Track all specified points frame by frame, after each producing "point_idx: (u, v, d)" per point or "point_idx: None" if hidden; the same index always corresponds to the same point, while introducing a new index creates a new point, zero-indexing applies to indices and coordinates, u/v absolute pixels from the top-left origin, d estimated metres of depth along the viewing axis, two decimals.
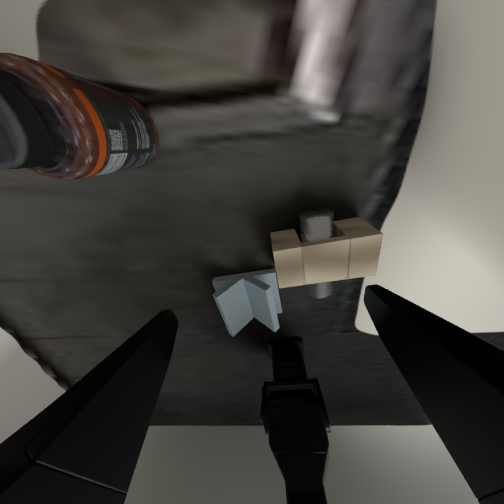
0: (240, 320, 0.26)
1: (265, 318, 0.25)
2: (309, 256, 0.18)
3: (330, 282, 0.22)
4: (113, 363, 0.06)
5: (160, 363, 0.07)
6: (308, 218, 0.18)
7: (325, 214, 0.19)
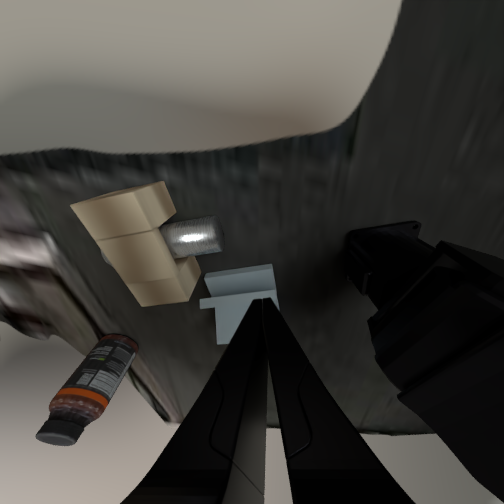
0: None
1: None
2: (134, 277, 0.16)
3: (190, 232, 0.16)
4: (242, 352, 0.05)
5: (265, 354, 0.07)
6: None
7: None
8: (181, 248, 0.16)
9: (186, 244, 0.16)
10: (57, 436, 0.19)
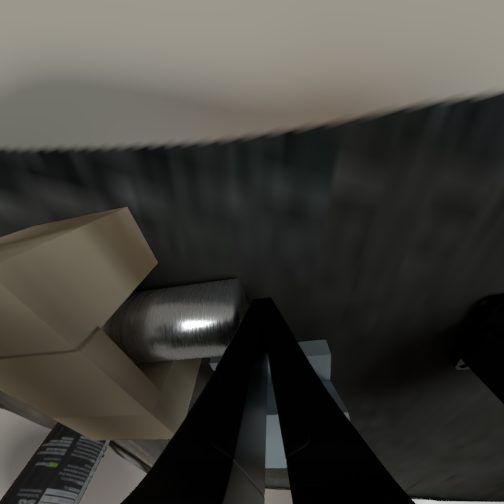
0: None
1: None
2: (65, 411, 0.08)
3: (186, 335, 0.07)
4: (242, 352, 0.05)
5: (265, 354, 0.07)
6: None
7: None
8: (171, 358, 0.08)
9: (180, 355, 0.08)
10: None
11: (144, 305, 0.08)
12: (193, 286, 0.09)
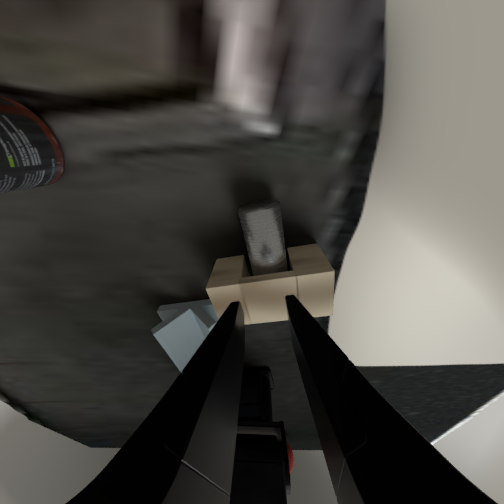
0: (191, 354, 0.23)
1: None
2: (250, 294, 0.15)
3: None
4: (210, 355, 0.06)
5: (240, 356, 0.07)
6: (247, 212, 0.14)
7: (269, 206, 0.14)
8: None
9: None
10: None
11: None
12: None
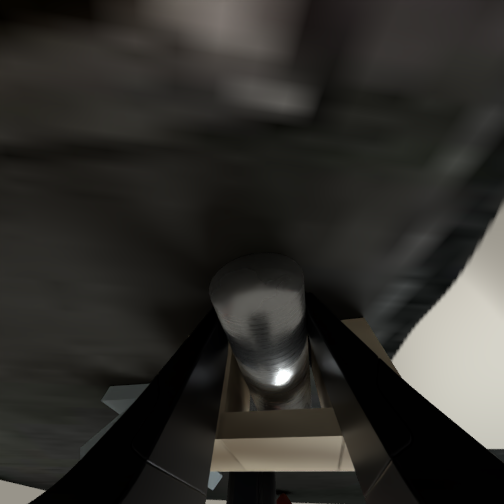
0: None
1: None
2: (243, 449, 0.07)
3: None
4: (188, 357, 0.06)
5: (222, 358, 0.07)
6: (221, 304, 0.06)
7: (276, 288, 0.06)
8: None
9: None
10: None
11: None
12: None
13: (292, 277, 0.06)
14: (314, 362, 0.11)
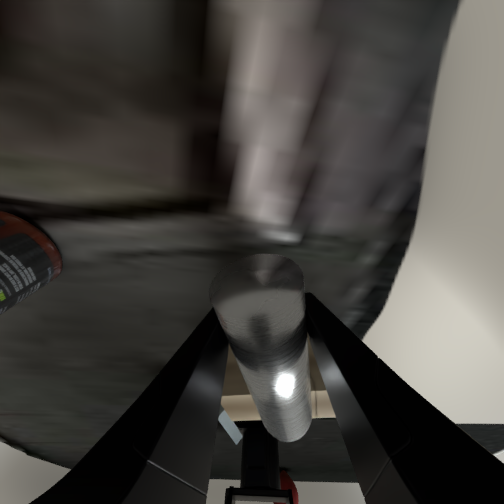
0: None
1: None
2: None
3: (305, 416, 0.10)
4: (188, 357, 0.06)
5: (222, 358, 0.07)
6: (222, 305, 0.06)
7: (277, 290, 0.06)
8: (283, 421, 0.09)
9: (290, 424, 0.09)
10: None
11: None
12: None
13: (292, 279, 0.06)
14: None
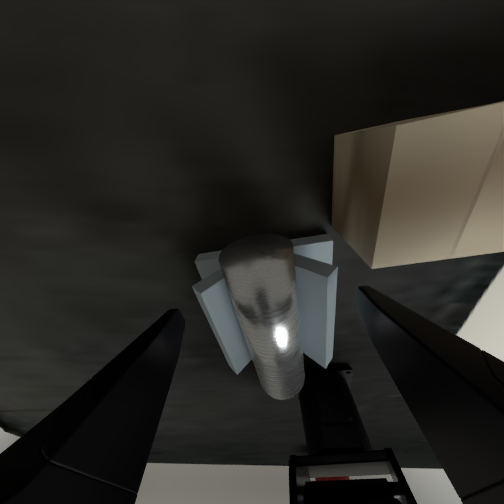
0: None
1: (305, 339, 0.12)
2: None
3: (297, 376, 0.11)
4: (123, 362, 0.06)
5: (168, 362, 0.07)
6: (228, 266, 0.08)
7: (271, 256, 0.08)
8: (277, 375, 0.11)
9: (283, 380, 0.11)
10: None
11: None
12: None
13: (284, 249, 0.08)
14: None
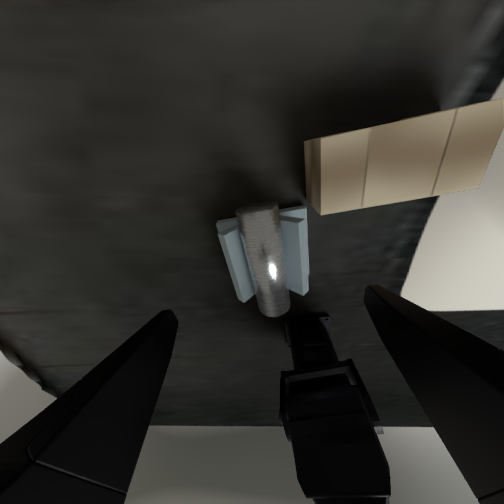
0: None
1: (290, 276, 0.18)
2: (379, 149, 0.11)
3: (284, 298, 0.18)
4: (113, 363, 0.06)
5: (160, 363, 0.07)
6: (242, 214, 0.14)
7: (265, 208, 0.14)
8: (270, 293, 0.17)
9: (274, 298, 0.17)
10: None
11: (286, 272, 0.18)
12: None
13: (273, 205, 0.14)
14: None
